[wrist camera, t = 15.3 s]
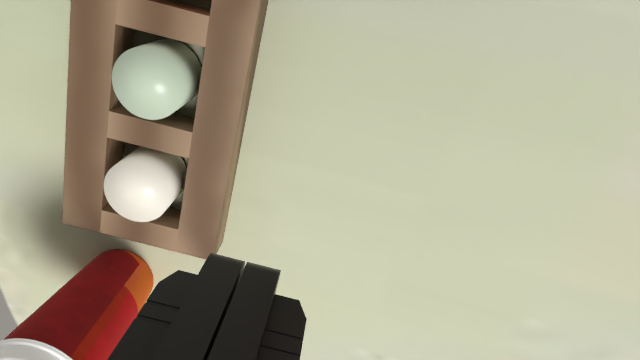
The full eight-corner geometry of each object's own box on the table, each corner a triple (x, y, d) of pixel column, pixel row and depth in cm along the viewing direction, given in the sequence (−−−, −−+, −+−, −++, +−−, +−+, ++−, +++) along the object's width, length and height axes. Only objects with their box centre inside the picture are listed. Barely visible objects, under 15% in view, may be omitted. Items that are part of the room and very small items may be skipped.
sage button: (206, 48, 35) (188, 57, 31) (197, 112, 37) (178, 127, 33) (140, 31, 35) (114, 38, 31) (134, 96, 37) (109, 109, 33)
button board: (288, -105, 31) (280, -112, 29) (222, 241, 41) (212, 261, 39) (102, -154, 31) (77, -166, 28) (82, 206, 41) (62, 222, 39)
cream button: (191, 151, 38) (173, 170, 35) (183, 205, 40) (165, 228, 36) (130, 135, 38) (105, 153, 34) (125, 191, 40) (101, 212, 36)
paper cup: (63, 269, 44) (-62, 392, 31) (117, 221, 42) (6, 332, 29) (129, 326, 46) (37, 464, 33) (184, 283, 43) (108, 414, 31)
